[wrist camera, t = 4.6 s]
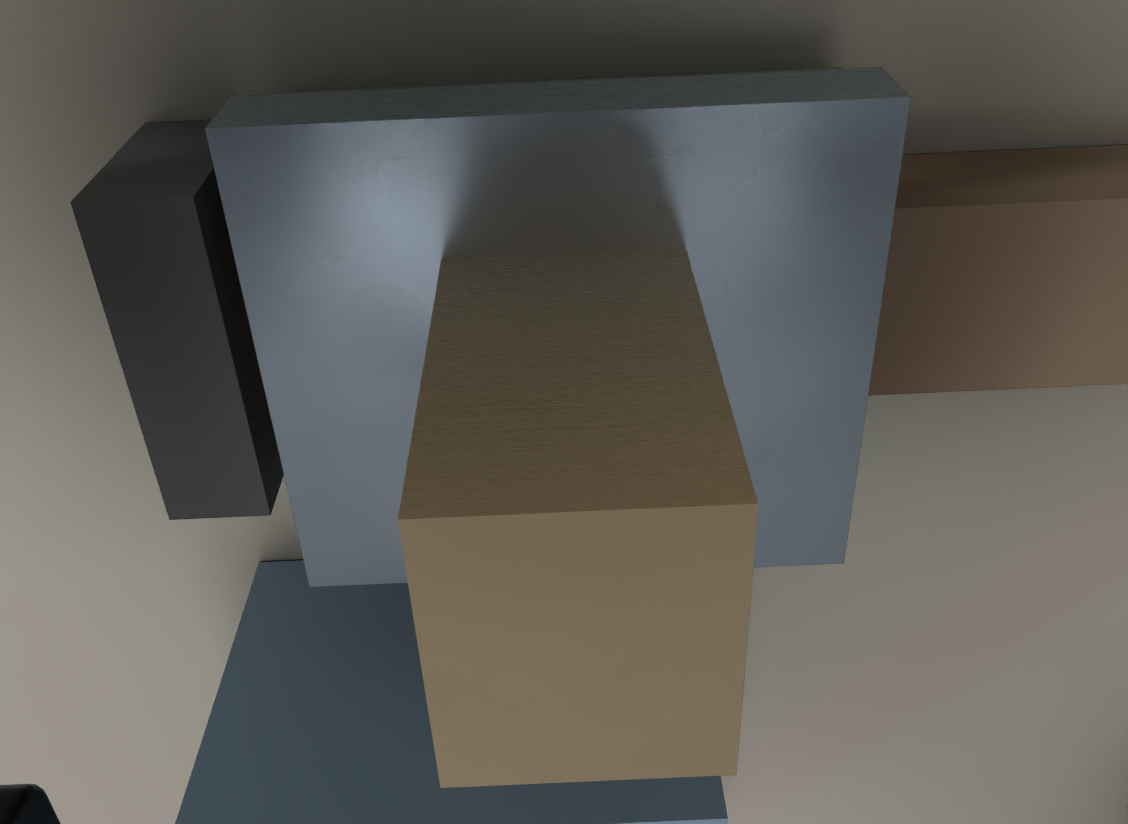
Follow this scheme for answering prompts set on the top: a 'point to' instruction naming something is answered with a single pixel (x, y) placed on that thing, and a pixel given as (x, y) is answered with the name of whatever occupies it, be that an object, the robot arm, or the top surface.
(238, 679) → the blue button housing
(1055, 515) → the top surface
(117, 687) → the top surface
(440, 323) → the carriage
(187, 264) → the rail
